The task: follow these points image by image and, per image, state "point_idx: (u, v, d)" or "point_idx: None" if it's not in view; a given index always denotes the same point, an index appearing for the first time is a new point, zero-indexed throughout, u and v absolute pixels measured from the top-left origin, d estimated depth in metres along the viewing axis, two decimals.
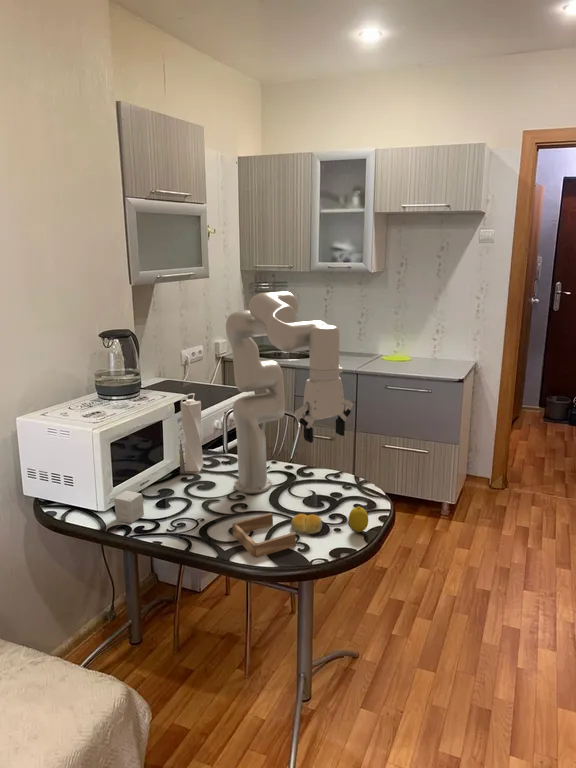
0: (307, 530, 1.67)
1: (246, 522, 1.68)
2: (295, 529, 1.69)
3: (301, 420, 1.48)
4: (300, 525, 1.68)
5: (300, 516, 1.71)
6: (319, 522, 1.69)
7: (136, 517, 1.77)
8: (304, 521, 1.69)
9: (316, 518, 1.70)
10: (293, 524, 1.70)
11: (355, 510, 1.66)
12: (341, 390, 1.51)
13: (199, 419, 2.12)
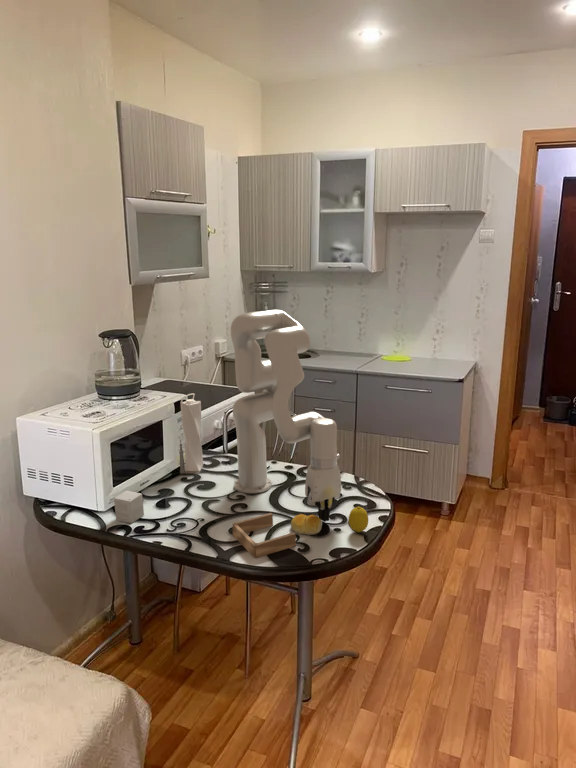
0: (307, 530, 1.67)
1: (246, 522, 1.68)
2: (295, 530, 1.68)
3: (316, 503, 1.70)
4: (299, 525, 1.68)
5: (300, 517, 1.71)
6: (319, 523, 1.69)
7: (136, 517, 1.77)
8: (304, 522, 1.69)
9: (316, 519, 1.69)
10: (293, 525, 1.69)
11: (355, 510, 1.66)
12: (339, 475, 1.70)
13: (199, 419, 2.12)
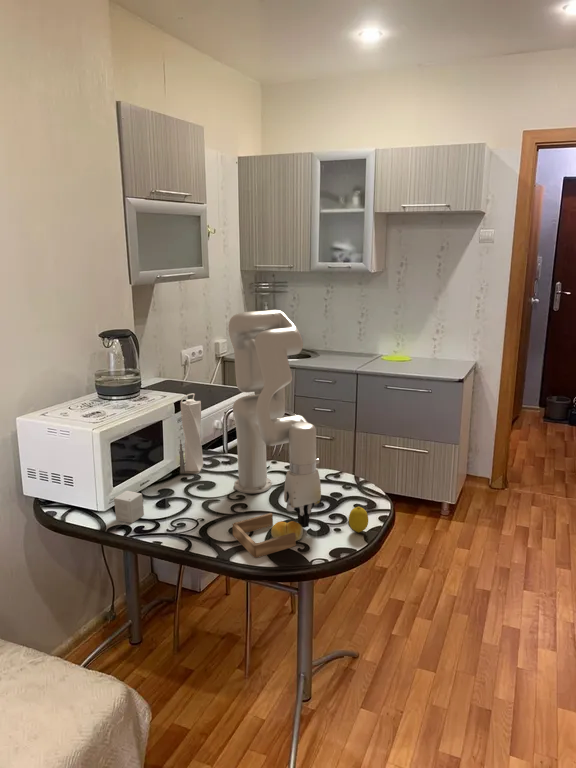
0: None
1: (246, 522, 1.68)
2: None
3: (295, 509, 1.67)
4: (281, 533, 1.63)
5: (280, 524, 1.66)
6: (300, 529, 1.66)
7: (136, 517, 1.77)
8: (285, 529, 1.65)
9: (297, 525, 1.66)
10: (274, 533, 1.65)
11: (355, 510, 1.66)
12: (318, 480, 1.67)
13: (199, 419, 2.12)
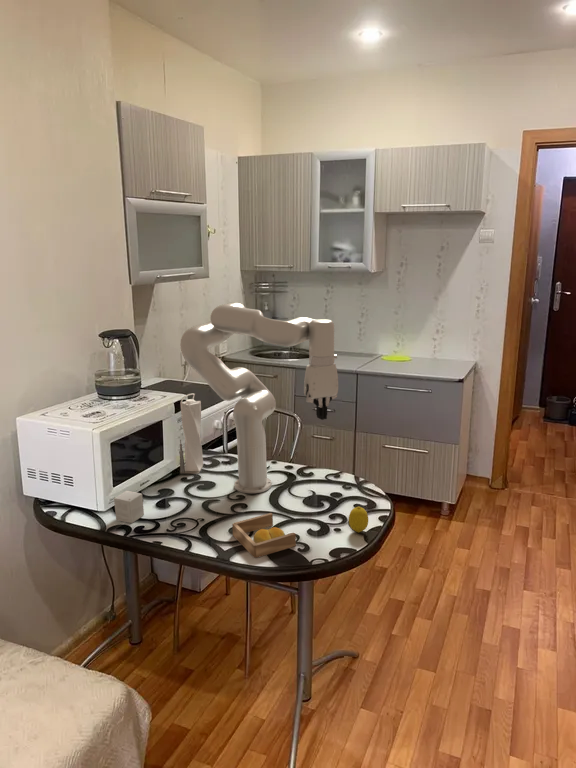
0: None
1: (246, 522, 1.68)
2: None
3: (314, 401, 1.79)
4: None
5: (263, 532, 1.63)
6: (284, 534, 1.63)
7: (136, 517, 1.77)
8: (270, 536, 1.61)
9: (280, 530, 1.63)
10: (259, 541, 1.60)
11: (355, 510, 1.66)
12: (336, 374, 1.80)
13: (199, 419, 2.12)
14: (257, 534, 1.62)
